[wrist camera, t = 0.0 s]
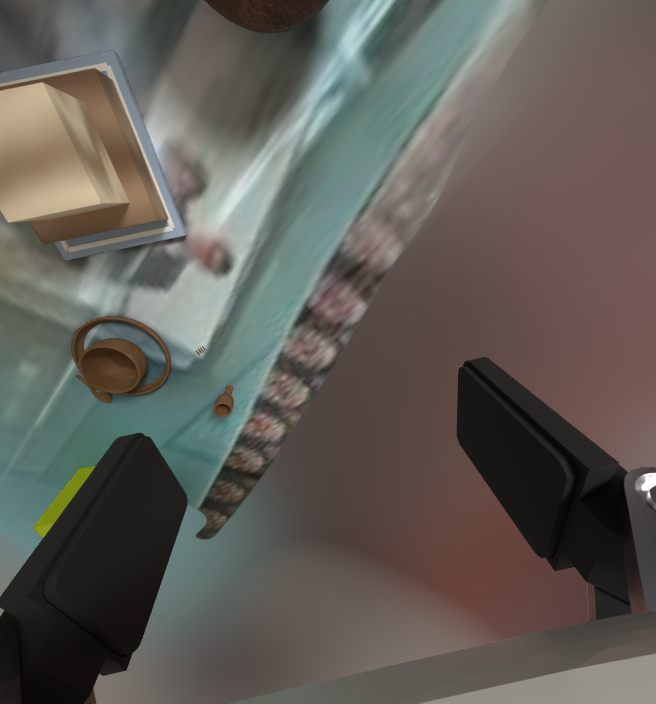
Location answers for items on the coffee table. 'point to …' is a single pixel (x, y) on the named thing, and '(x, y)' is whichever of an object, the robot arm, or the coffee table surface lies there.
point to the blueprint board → (114, 70)
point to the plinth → (120, 156)
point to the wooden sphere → (268, 13)
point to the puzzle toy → (62, 501)
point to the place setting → (124, 366)
